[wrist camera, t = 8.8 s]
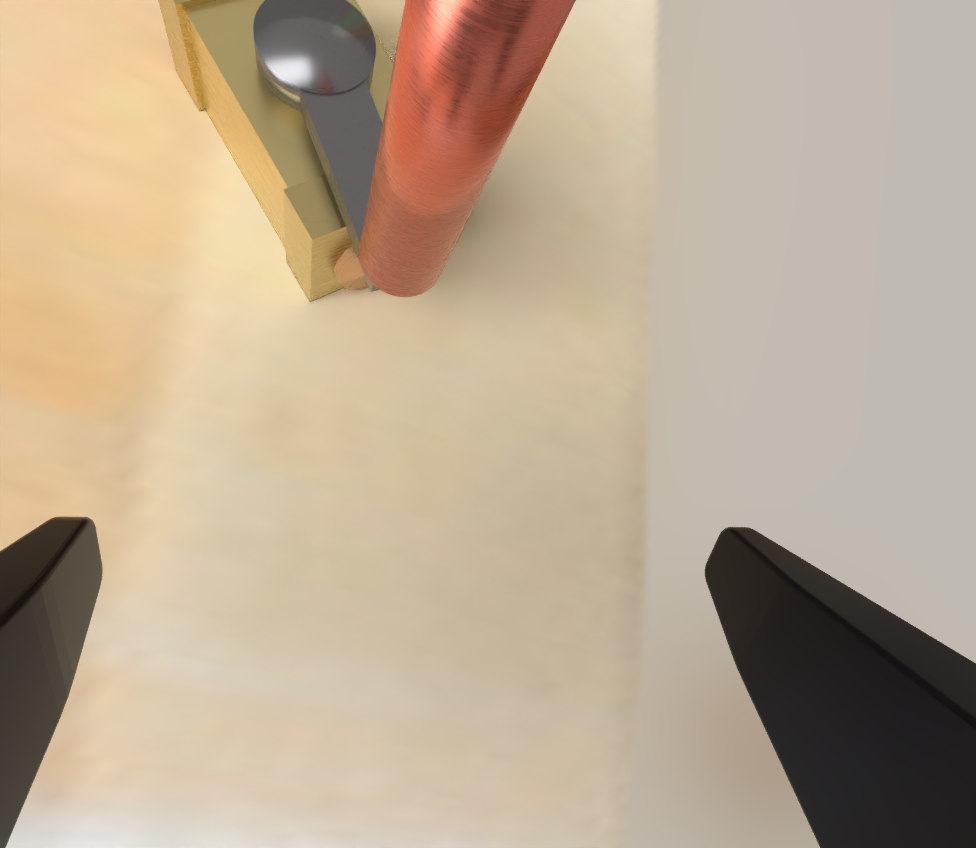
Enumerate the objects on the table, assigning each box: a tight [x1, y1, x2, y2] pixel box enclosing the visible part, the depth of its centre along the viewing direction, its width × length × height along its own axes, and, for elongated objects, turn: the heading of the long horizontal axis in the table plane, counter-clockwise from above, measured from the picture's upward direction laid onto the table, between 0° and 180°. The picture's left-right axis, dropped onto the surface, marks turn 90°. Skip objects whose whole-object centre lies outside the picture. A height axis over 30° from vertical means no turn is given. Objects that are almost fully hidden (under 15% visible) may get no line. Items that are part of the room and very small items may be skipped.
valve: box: [158, 0, 394, 302], centre depth 20 cm, size 10×5×4 cm, turn 32°
